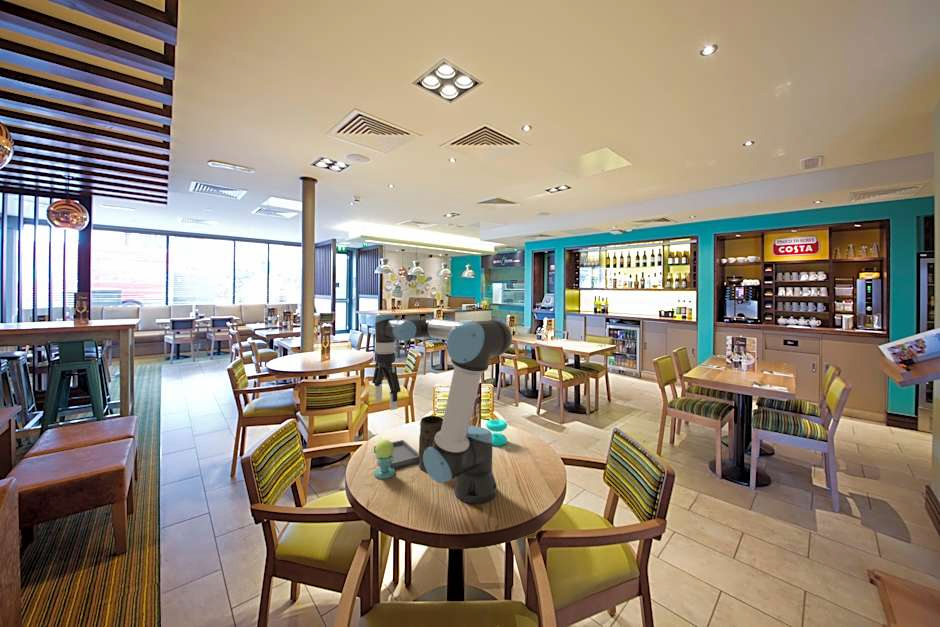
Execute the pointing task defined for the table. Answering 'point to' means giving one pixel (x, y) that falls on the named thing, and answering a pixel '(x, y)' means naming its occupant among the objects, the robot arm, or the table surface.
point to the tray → (403, 454)
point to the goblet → (384, 468)
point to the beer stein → (428, 435)
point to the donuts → (497, 427)
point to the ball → (384, 449)
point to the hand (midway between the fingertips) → (386, 405)
